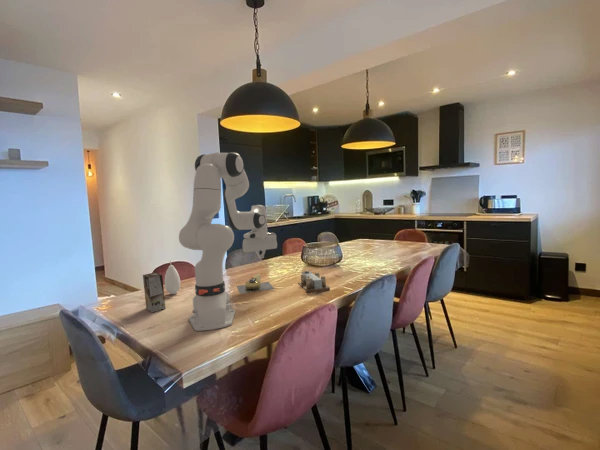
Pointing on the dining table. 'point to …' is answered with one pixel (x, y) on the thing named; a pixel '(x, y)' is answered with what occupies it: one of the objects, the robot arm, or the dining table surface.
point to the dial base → (263, 287)
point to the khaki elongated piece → (253, 282)
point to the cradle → (307, 284)
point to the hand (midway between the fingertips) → (261, 258)
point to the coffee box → (154, 291)
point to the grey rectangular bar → (313, 280)
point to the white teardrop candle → (172, 280)
